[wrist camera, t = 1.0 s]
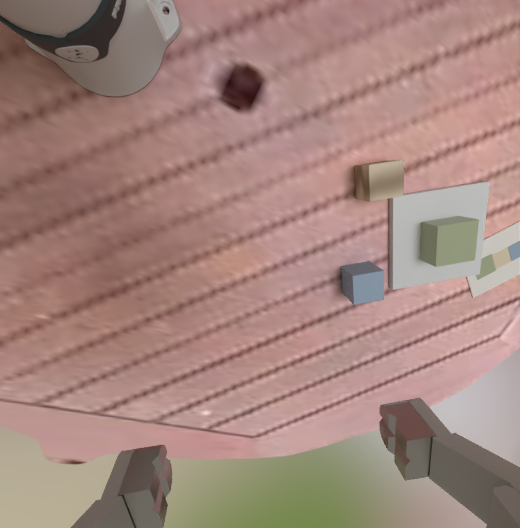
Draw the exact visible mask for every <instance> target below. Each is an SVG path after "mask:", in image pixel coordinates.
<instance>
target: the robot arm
mask: <svg viewBox="0 0 520 528" xmlns="http://www.w3.org/2000/svg"><path fill="white" fill-rule="evenodd" d="M166 9H168V10H169V11H170V12H169V14H168V15H165V14H164V10H166ZM0 21H1V22H2V23H3V24H5V25H6V26H7V27H8V28H10V29H11V30H14V31H15V32H16V33H18V34H19V35H21V36H22V37H24V39H25V42H26V43H27V44H28V46H30V47H31V48H32V49H33V50H34V51H36V52H37V53H39V54H40V55H42V56H44V57H46V58H48V59H50V60H52V61H54V62H55V63H56V64H58V65H59V66H60V67H61V68H62V69H63V70H64V71H65V72H66V73H67V74H68V75H69V76H70V77H71V78H72V79H73V80H74V81H75V82H77V83H78V84H79V85H81V86H82V87H84V88H86V89H88V90H90V91H92V92H94V93H97V94H100V95H105V96H113V97H116V96H125V95H129V94H132V93H135V92H137V91H139V90H140V89H142V88H143V87H145V86H146V85H147V84H148V83H149V82H150V81H151V80H152V79H153V77H154V76H155V74H156V73H157V71H158V69H159V67H160V64H161V61H162V58H163V55H164V53H165V50H166V48H167V46H168V45H169V44H170V43H171V42H172V41H173V40H174V39H175V38H176V37H177V35H178V34H179V32H180V30H181V21H180V18H179V15H178V13H177V10H176V7H175V4H174V1H173V0H0ZM380 415H381V416H382V419H381V421H380V422H379V424H380V433H381V437H382V439H383V441H384V444H385V445H386V448H387V449H388V451H390V452H391V453H393V454H394V455H395V464H396V465H397V467H398V469H399V471H400V472H401V474H402V476H403V478H404V479H405V480H411V479H417V478H423V477H429V478H430V479H431V480H432V481H434V482H435V483H436V484H437V485H438V486H440V487H441V488H442V489H444V490H445V491H446V492H447V493H449V494H450V495H451V496H452V497H453V498H455V499H456V500H457V501H458V502H460V503H461V504H462V505H464V506H465V507H466V508H467V509H468V510H470V511H471V512H472V513H474V514H475V515H476V516H477V517H479V518H480V519H481V520H482V521H483V522H485V523H486V524H487V527H486V528H520V467H518V466H516V465H514V464H512V463H510V462H509V461H507V460H505V459H503V458H501V457H499V456H497V455H496V454H494V453H492V452H490V451H488V450H486V449H484V448H482V447H481V446H479V445H477V444H475V443H473V442H471V441H469V440H467V439H465V438H464V437H462V436H460V435H458V434H456V433H453V434H451V433H450V432H449V430H448V429H447V428H446V427H445V426H444V425H443V423H442V422H441V421H440V420H439V419H438V417H437V416H436V415H435V414H434V413H433V412H432V410H431V409H430V408H429V407H428V406H427V404H426V403H425V402H424V401H423V400H422V399H420V398H416V399H410V400H406V401H405V400H404V401H399V402H394V403H389V404H383V405H381V406H380ZM166 454H167V450H166V447H165V445H157V446H151V447H144V448H138V449H132V450H126V451H121V453H120V454H119V455H118V457H117V460H116V462H115V465H114V467H113V470H112V472H111V475H110V478H109V480H108V482H107V485H106V487H105V490H104V492H103V495H102V497H101V500H96V501H95V502H94V503H93V504H92V506H91V507H90V508H89V509H88V510H87V511H86V512H85V513H84V514H83V515H82V516H81V517H80V518H79V519H78V520H77V521H76V523H75V524H74V525H73V526H72V527H71V528H163V526H164V522H165V516H166V511H167V506H168V505H167V502H166V499H165V498H166V496H167V495H168V494H169V492H170V490H171V484H172V467H171V463H170V460H168V459H167V458H166Z"/></svg>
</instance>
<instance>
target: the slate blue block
mask: <svg viewBox="0 0 520 528" xmlns="http://www.w3.org/2000/svg"><path fill="white" fill-rule="evenodd" d="M341 271H342V289H343V293H344V295H345V296H346V297H347V298H348V299H349V300H350V301H351V302H352V303H353V304H354V305H356V304H362V303H367V302H373V301H379V300H384V270H382V269H380V268H379V267H377V266H376V265H374V264H373V263H371V262H370V261H368V262H362V263H357V264H351V265H345V266H341Z"/></svg>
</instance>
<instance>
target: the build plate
mask: <svg viewBox="0 0 520 528" xmlns="http://www.w3.org/2000/svg"><path fill="white" fill-rule="evenodd" d="M489 184H490V181H482V182H476V183H469V184H463V185H457V186H451V187H444V188H438V189H432V190H426V191H420V192H413V193H407V194H404V195H403V196H402V197H395V198H389V287H390V288H391V289H392V290H394V289H400V288H406V287H411V286H417V285H423V284H428V283H434V282H439V281H445V280H451V279H456V278H462V277H468V276H473V275H479V274H480V268H481V259H482V249H483V240H484V231H485V221H486V212H487V203H488V194H489Z"/></svg>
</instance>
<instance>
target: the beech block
mask: <svg viewBox="0 0 520 528" xmlns="http://www.w3.org/2000/svg"><path fill="white" fill-rule="evenodd" d="M355 189H356V199H360V200H365V201H369V202H371V201H377V200H383V199H389V198H395V197H402V196H403V195H404V160H392V161H382V162H375V163H369V164H363V165H356V166H355Z"/></svg>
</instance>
